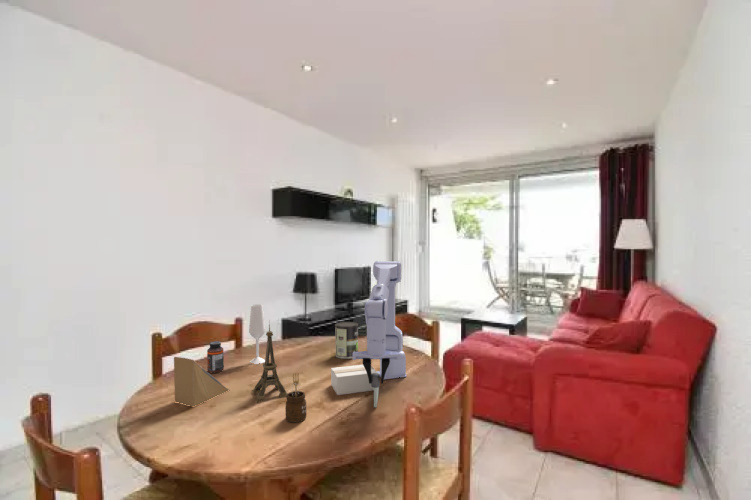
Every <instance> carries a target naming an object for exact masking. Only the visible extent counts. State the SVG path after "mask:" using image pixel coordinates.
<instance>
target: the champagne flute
mask: <svg viewBox="0 0 751 500" xmlns="http://www.w3.org/2000/svg"><path fill="white" fill-rule="evenodd" d="M249 317H250V318H249V326H248V333H249V335H250V336H251V337H253V339H255V357H254V358H253V359H251V360H250V361H249V362H251V363H254V364H253V365H259V363H260V364H263V363H265V359H264V358H262V357H260V340H259V339H261V338H262V337H263V336H264V334H266V333H265V332H267V331H266V321H265V313H264V304H261V303H259V304H258V303H257V304H251V306H250V316H249ZM251 363H250V364H251Z"/></svg>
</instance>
